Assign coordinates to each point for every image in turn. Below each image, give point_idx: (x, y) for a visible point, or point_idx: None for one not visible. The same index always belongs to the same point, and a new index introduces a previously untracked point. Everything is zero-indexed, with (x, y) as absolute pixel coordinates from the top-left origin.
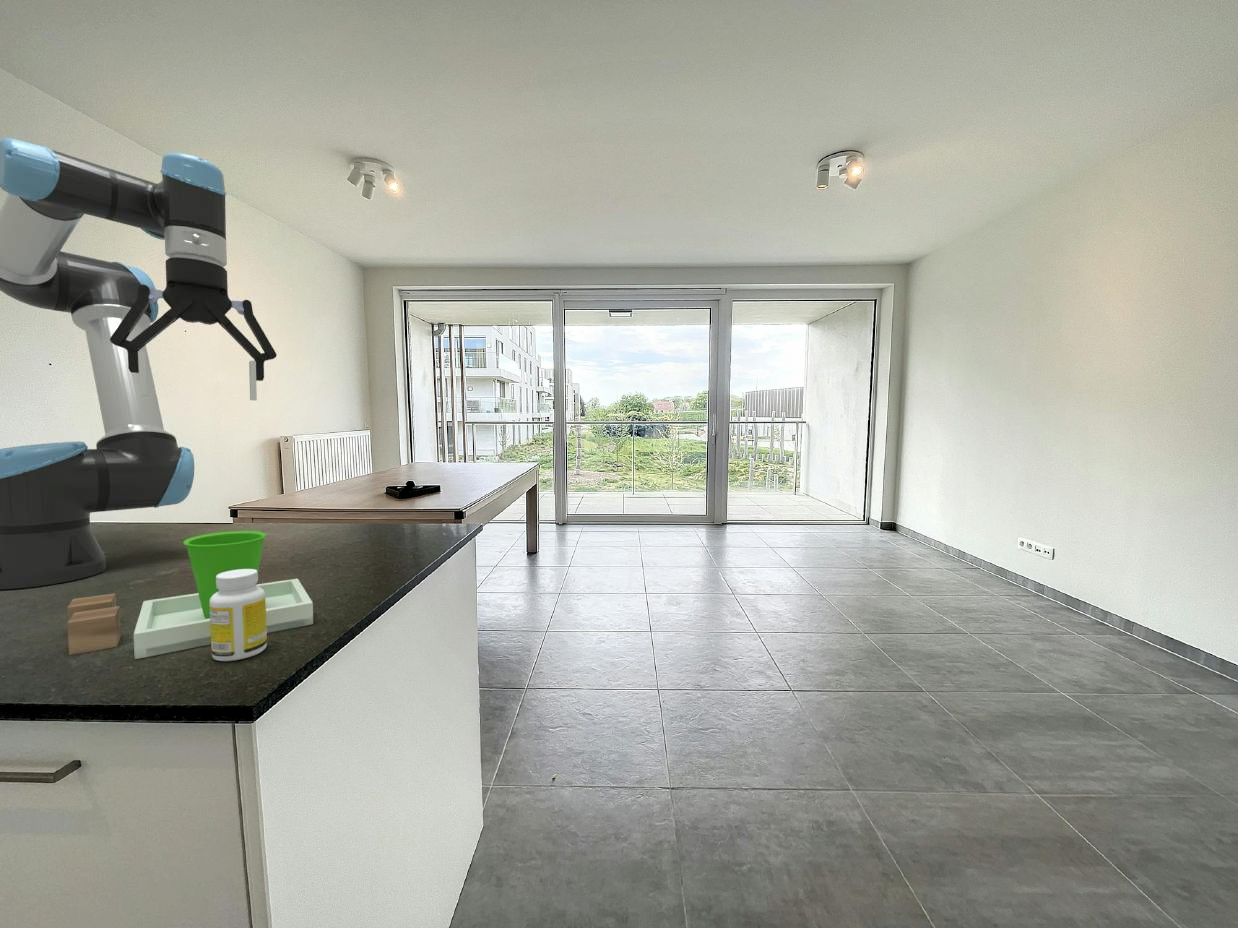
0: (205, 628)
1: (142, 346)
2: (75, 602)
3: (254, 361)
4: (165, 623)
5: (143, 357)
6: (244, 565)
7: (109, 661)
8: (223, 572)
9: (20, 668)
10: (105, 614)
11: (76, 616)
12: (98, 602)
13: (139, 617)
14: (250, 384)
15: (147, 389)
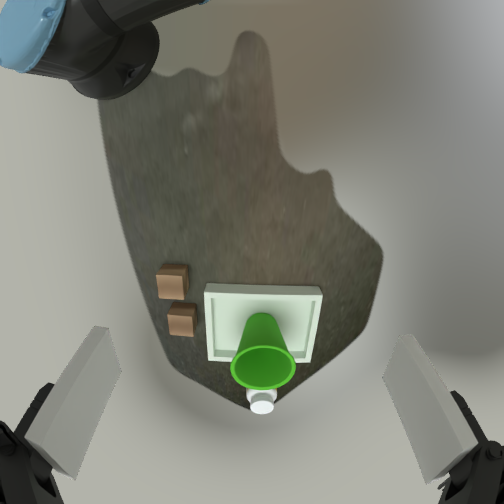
0: None
1: (32, 472)
2: (160, 286)
3: (436, 479)
4: (221, 314)
5: (77, 462)
6: (272, 369)
7: (198, 344)
8: (254, 403)
9: (157, 326)
10: (187, 330)
11: (171, 323)
12: (175, 297)
13: (206, 331)
14: (406, 404)
15: (103, 350)
